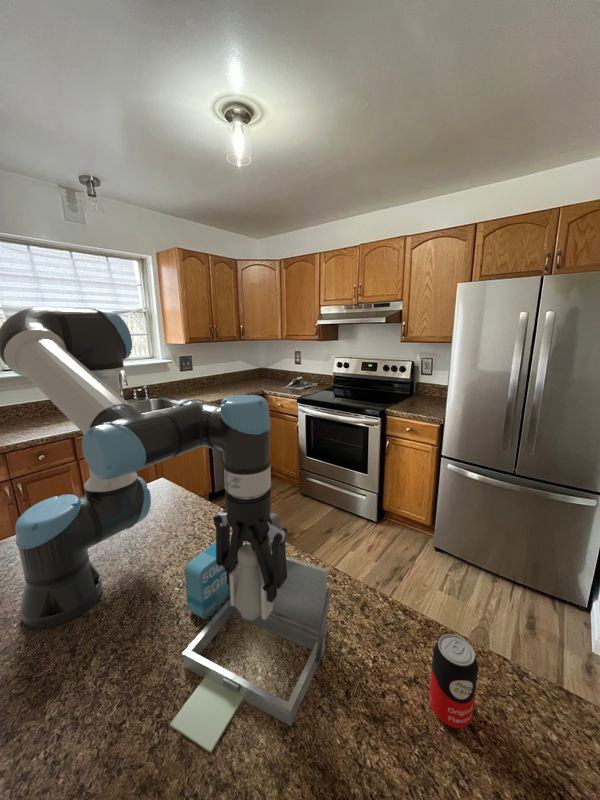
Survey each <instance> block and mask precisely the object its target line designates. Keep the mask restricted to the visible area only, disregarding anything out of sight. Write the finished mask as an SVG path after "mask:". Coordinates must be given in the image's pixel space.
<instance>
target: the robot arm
mask: <svg viewBox="0 0 600 800" xmlns="http://www.w3.org/2000/svg"><path fill="white" fill-rule="evenodd" d="M132 350H133V338H132V335H131V331H130V329H129V327H128V325H127V323H126V322H125V320H124V319H123V318H122V317H121V316H120V315H119V314H118V313H117V312H114V311H113V310H108V309H103V308H93V307H92V308H83V307H81V308H80V307H79V308H77V307H75V308H74V307H73V308H72V307H48V306H36V307H30V308H25V309H23V310H19V311H18V312H16V313H14V314H12V315H11V316H9V317H8V318H7V319H6V320H5V321H4V322H3V323H2V325H1V326H0V359H1V361H3V363H4V364H5V365H6V366H7V367H8V368H9V370H11V371H12V372H14V374H16V375H19V376H22V377H25V378H28V379H29V380H30V381H31V383H33V384H34V385H35V387H37V388H38V389H39V390H40V391H41V392H42V393H43V394H44V395H45V396H46V397H47V398H48V400H50V401H51V402H52V403H53V405H55V406H56V408H58V410H60V412H62V413H63V415H64V416H66V417H67V418H68V420H70V421H71V422H72V423H73V425H75V427H76V428H78V429H79V431H80V432H81V433H82V434H83V436H82V440H81V449H82V450H81V451H82V456H83V457H84V461H85V463H87V465H88V466H87V467H88V471H89V478H88V480H86V481H85V483H84V485H83V488H84V489H83V490H84V494H83V495H82V496H79V497H78V496H77V495H75V494H66V493H65V494H61V495H60V496H57V495H56V496H51V497H50V498H46V499H43V500H41V501H39V502H38V503H35V504H33V505H31V506H30V507H29V508H28V509H26V510H25V511H24V512H23V513H22V514H21V515H20V516H19V518H18V519H17V520H16V523H15V525H14V526H15V529H14V530H15V531H14V532H15V544H16V546H17V548H18V553H19V557H20V558H19V559H20V562H21V568H22V570H23V572H22V573H23V575H24V580H25V585H24V590H23V595H22V598H21V599H22V600H21V604H20V608H19V609H20V611H19V612H20V615H21V620H22V622H23V624H24V625H25V626H26V627H28V628H31V629H35V630H36V629H37V630H38V629H49V628H52V627H57V626H60V625H63V624H66V623H68V622H70V621H72V620H73V619H76V618H78V617H79V616H81V615H83V613H85V612H87V610H89V609H90V608H91V607H92V606H93V605H94V604H95V603H97V601H98V599H99V598H100V596H101V594H102V592H103V589H104V588H103V587H104V586H103V580H102V576H101V574H100V573H99V571H98V569H97V568H96V567H95V566H94V564H93V562H92V561H91V560H90V556H89V549H90V548H92V547H94V546H95V545H97V544H99V543H101V542H103V541H104V542H105V540H107V539H109V538H111V537H113V536H115V535H117V534H119V533H121V532H123V531H125V530H129V529H131V528H132V527H134V526H135V525H137V524H139V523H140V522H142V521H143V520H145V518H146V517H147V516H148V515H149V513H150V511H151V506H152V505H151V504H152V497H151V491H150V489H149V488H148V483H147V482H146V481H145V480H144V479H143V478H142V477H140V476H138V473H137V472H139V471H141V470H144V469H146V468H148V467H151V466H154V465H156V464H158V463H161V462H163V461H166V460H169V459H171V458H175V457H177V456H180V455H183V454H185V453H188V452H191V451H193V450H196V449H199V448H202V447H205V448H208V449H213V450H215V451H221V452H222V455H223V456H222V458H223V461H222V462H223V464H222V465H223V471H224V472H223V473H224V474H223V475H224V490H225V492H224V498H225V499H224V500H225V509H223V510H221V511H220V512H218V513H217V514H216V515H215V516H213V517H212V518H213V519H212V520H213V524H214V527H215V542H216V563H217V565H218V566H221V565H222V566H223V567H225V568H224V569H225V571H226V574H227V584H228V585H229V586H230V596H229V599H230V598H231V605H232V606H235V605H236V604H235V598H236V591H237V585H238V579H239V572H240V566H241V565H238V566H237V567H236V565H237V564H238V563H239V562H238V550H239V548H240V547H241V546H243V543H245V542H247V543H251V547H252V550H253V551H255V553H256V556H257V560H258V563H259V566H260V570H261V573H262V577H263V580H264V583H263V584H262V586H261V614H262V619H264V620H266V618H267V617H268V615H269V614H270V613H271V611H272V610H273V600H274V599H275V598H276V596H277V588H278V589H279V588H280V587H281V586H282V584H283V583H284V581H285V580H286V579H287V565H286V556H287V552H286V539H287V535H288V533H289V532H288V529H287V528H286V527H281V530H280V529H278V528H277V527H275V526H273V522H272V520H271V518H270V513H272V512H271V511H272V491H271V486H272V478H271V477H272V476H271V475H272V474H271V473H272V472H271V471H272V470H271V468H272V467H271V456H270V454H271V453H270V452H271V427H272V423H271V418H270V408H269V406H270V405H269V402H268V400H267V399H266V398H264V397H263V396H261V395H256V394H236V395H235V394H234V395H229V396H227V397H224V398H223V399H222V400H221V402H220V403H219V404H218V403H214V402H209V401H205V400H203V399H202V400H201V399H199V398H197V399H196V398H194V399H191V398H185V399H181V400H177V402H175V403H174V405H173V406H171V407H170V408H169V409H164V410H159V411H155V412H150V413H146V414H143V413H141V412H140V411H139V410H137V409H136V408H135V407H133V406H132V405H131V404H130V403H129V402H127V401H126V400H125V399H124V398H123V397H122V396H121V391H120V382H119V374H120V373H121V372H122V370H124V368H125V366H124V365H125V364H124V360H126V359H128V358H129V357H130V356H131V354H132ZM231 529H232V533H231ZM268 533H269V534H270V535H271V540H270V542H271V543H272V554H271V550H270V547H269V537H268ZM230 539H231V540H230ZM230 541H231V545H230Z"/></svg>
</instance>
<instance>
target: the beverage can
mask: <svg viewBox="0 0 600 800" xmlns="http://www.w3.org/2000/svg"><path fill="white" fill-rule="evenodd" d="M430 674H431V675H430V683H429V684H430V685H429V686H430V687H429V694H428V695H429V698H428V699H429V704H430V707H431V709H432V711H433V713H434V714H435V715H436V717H437V718H438V720H440V721H441V722H443V724H445V725H447V726H449V727H451V728H456V729H462V728H463V729H464V728H465V727H467V726H468V725H469V724H470V723H471V722H472V719H473V713H474V704H475V699H476V697H475V695H476V689H477V683H478V682H477V681H478V674H479V663H478V660H477V657H476V653H475V649H474V648H473V646H472V645H471V643H469V642H468V641H467V640H466V639H465V638H463V637H461V636H459V635H457V634H451V633H447V634H443V635H441V637H440V638H439V639H438V641H437V643H435V645H434V648H433V654H432V663H431V673H430Z"/></svg>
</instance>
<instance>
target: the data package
mask: <svg viewBox="0 0 600 800" xmlns="http://www.w3.org/2000/svg"><path fill="white" fill-rule="evenodd" d="M224 568H225V567H223V566H222V565H221V566H218V565H217V563H216V541H215V542H214V543H213V544H211V545H210V546H209V547H207V548H206V549H205V550H203V551H202V552H201V553H199V554H197V556H196V557H194V558H193V559H191V560H190V561H189V562H188V563H186V565H185V569H184V578H185V589H186V590H185V593H186V600H187V601H186V602H187V609H188V610H189V612H192V613H193V614H194V615H196V616H199V617H200V618H201V619H203V620H206V619H208V618H209V617H210V616H211V615H212V614H214V612H215V611H216V610H217V609H218V608H219V607H220V606H222V604H223V603H224V602H225V601H226V600H228V599H229V598H230V586H229V585H228V584H227V574H226V571H225V569H224Z"/></svg>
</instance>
